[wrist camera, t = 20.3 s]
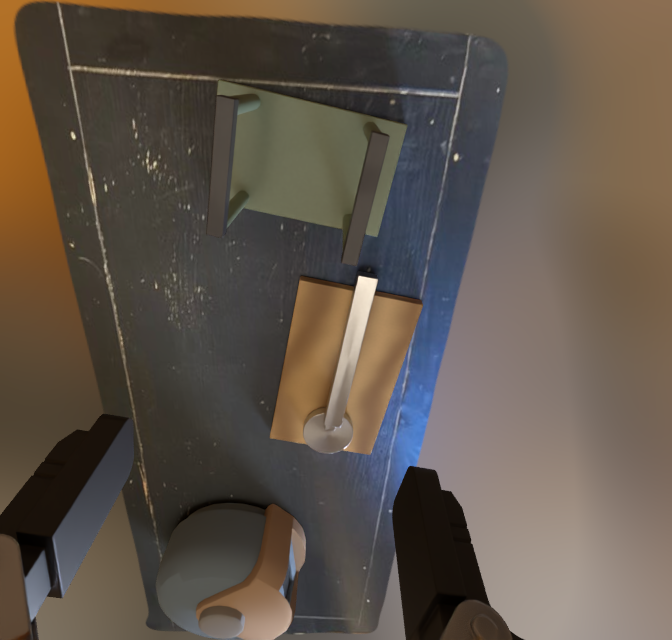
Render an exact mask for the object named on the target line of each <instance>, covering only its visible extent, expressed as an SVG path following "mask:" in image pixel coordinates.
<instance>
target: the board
mask: <svg viewBox="0 0 672 640" xmlns="http://www.w3.org/2000/svg"><path fill="white" fill-rule="evenodd" d="M353 288H354V286H349V285H344V284H339V283H334V282H329V281H324V280H319V279H314V278H309V277H305V276H300V281H299V286H298V291H297V296H296V302H295V307H294V312H293V318H292V323H291V328H290V333H289V339H288V344H287V349H286V354H285V360H284V365H283V370H282V376H281V381H280V386H279V391H278V397H277V402H276V407H275V412H274V418H273V423H272V428H271V434H270V438H273V439H279V440H285V441H291V442H297V443H303V444H307V443H306V442H305V440H304V437H303V426H304V422H305V419H306V418H307V416H308V415H309V414H310V413H311V412H313V411H314V410H317V409H319V408H323V407H326V405H327V401H328V396H329V392H330V388H331V383H332V379H333V375H334V371H335V366H336V362H337V358H338V353H339V349H340V345H341V340H342V336H343V332H344V327H345V323H346V319H347V314H348V310H349V306H350V301H351V297H352V293H353ZM422 307H423V304H422V301H421V300H418V299H413V298H408V297H403V296H398V295H393V294H388V293H383V292H378V291H375V295H374V299H373V303H372V306H371V310H370V314H369V318H368V322H367V326H366V330H365V334H364V338H363V342H362V346H361V350H360V354H359V358H358V362H357V366H356V370H355V374H354V378H353V382H352V385H351V389H350V393H349V397H348V401H347V405H346V409H345V413H346V414H347V415H348V416H349V417H350V419H351V421H352V424H353V438H352V440H351V442H350V443H349V445H348V446H347V447H346V448H344V449H343V450H344V451H350V452H356V453H362V454H368V455H370V454H371V452H372V449H373V446H374V443H375V440H376V438H377V435H378V432H379V429H380V426H381V423H382V420H383V418H384V415H385V412H386V409H387V406H388V403H389V401H390V398H391V395H392V392H393V389H394V386H395V384H396V381H397V378H398V375H399V372H400V369H401V367H402V364H403V361H404V358H405V355H406V352H407V349H408V347H409V344H410V341H411V338H412V335H413V332H414V330H415V327H416V324H417V321H418V318H419V315H420V313H421V310H422Z"/></svg>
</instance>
